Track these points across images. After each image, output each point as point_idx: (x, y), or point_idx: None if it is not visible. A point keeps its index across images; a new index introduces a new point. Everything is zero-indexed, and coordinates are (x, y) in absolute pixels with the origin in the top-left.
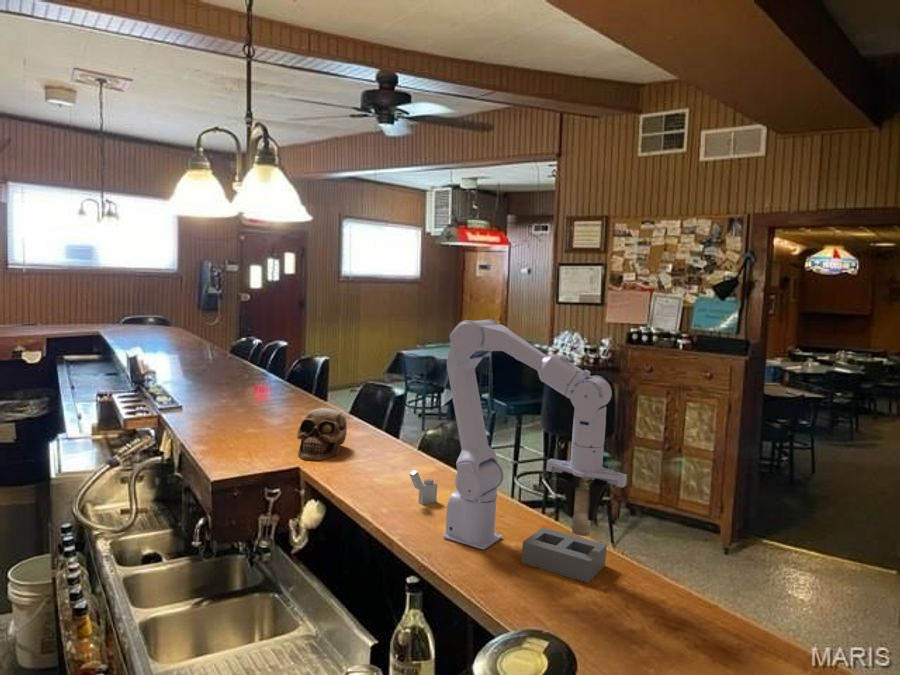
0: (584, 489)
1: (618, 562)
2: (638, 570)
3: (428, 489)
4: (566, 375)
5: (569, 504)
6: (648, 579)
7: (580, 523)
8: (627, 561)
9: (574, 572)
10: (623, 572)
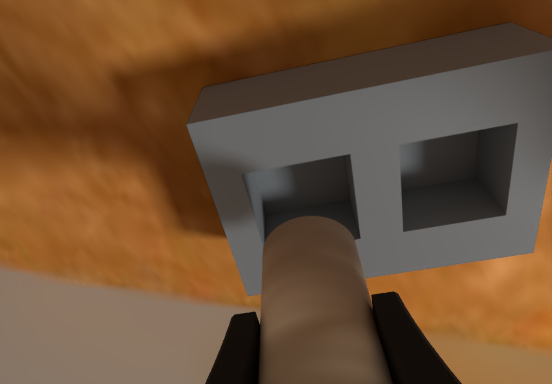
0: None
1: (237, 282)
2: (167, 280)
3: None
4: None
5: (414, 355)
6: (110, 256)
7: (293, 268)
8: (224, 302)
9: (260, 83)
10: (184, 242)
